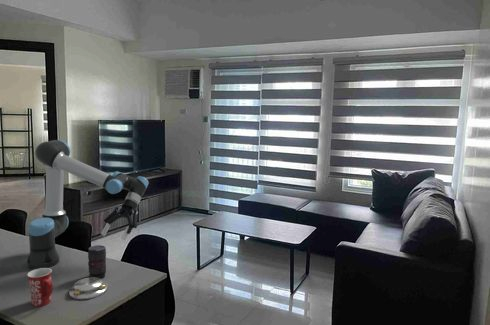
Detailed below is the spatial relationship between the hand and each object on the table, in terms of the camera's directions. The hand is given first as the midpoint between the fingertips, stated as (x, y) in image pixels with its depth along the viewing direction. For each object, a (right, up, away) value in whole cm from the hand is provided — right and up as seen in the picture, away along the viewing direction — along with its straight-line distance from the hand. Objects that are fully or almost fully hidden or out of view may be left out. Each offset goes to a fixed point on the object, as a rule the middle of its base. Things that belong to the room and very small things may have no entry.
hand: (112, 237), depth 185 cm
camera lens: (-5, -18, -7) cm, 20 cm away
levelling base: (-3, -20, -21) cm, 29 cm away
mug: (-17, -22, -33) cm, 43 cm away
